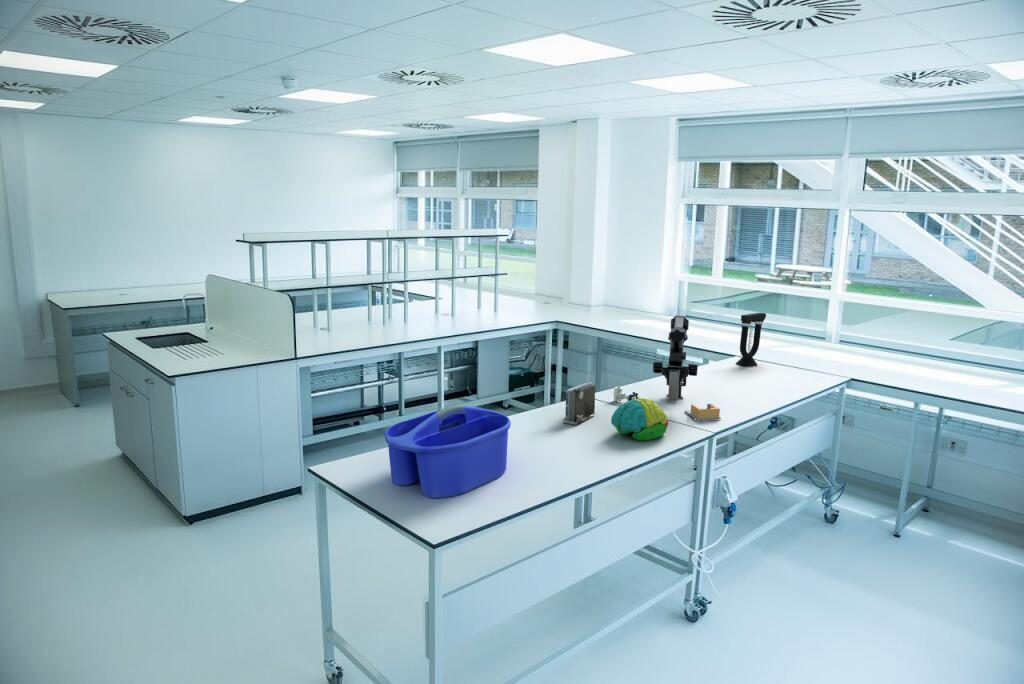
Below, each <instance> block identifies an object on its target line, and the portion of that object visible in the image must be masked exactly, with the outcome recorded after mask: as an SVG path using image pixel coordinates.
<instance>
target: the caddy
mask: <svg viewBox="0 0 1024 684" xmlns="http://www.w3.org/2000/svg"><path fill="white" fill-rule="evenodd" d="M511 424H512V423H511V418H509V417H508V416H507V415H506V414H503V413H501V412H499V411H496V410H491V409H487V408H482V407H478V406H477V407H476V406H470V405H464V404H455V405H454V404H453V405H449V406H446V407H443V408H442V409H440V410H436V411H431V412H429V413H426V414H424V415H419V416H415V417H413V418H410V419H407V420H403V421H400V422H398V423H395V424H393V425H391V426H390V427H388V428H387V430H386V431H385V433H384V439H385V440H384V441H385V442H386V444H387V449H388V455H389V457H388V458H389V467H390V475H391V476H390V477H391V482H392V484H393V483H394V484H393V485H395V484H396V485H395V486H398V485H401V486H400V487H402V486H403V487H405V486H410V485H413V484H414V483H416V482H418V481H419V482H420V487H421V489H420V490H421V493H422V495H423V496H424V497H426V498H429V499H440V498H441V499H442V498H449V497H454V496H459V495H462V494H464V493H468V492H469V491H472V490H474V489H475V488H478V487H480V486H483V485H485V484H487V483H489V482H491V481H494V480H496V479H497V478H499V477H501V476H502V475H503V474H504V473H505V472H506V470H507V462H508V459H507V458H508V440H509V439H508V438H509V430H510V429H511Z"/></svg>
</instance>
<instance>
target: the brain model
mask: <svg viewBox="0 0 1024 684" xmlns="http://www.w3.org/2000/svg"><path fill="white" fill-rule="evenodd" d="M610 422H611V424H612V425H613V427H614V428H615V429H616V431H617V432H619V433H620V434H622V435H624V436H625V435H628V434H629V433H632V436H631V437H632V438H633V439H635V440H637V441H643V442H644V441H649V440H653V439H654V440H655V439H657V438H660V437H663V436H664V434H665V433H666V432H667V429H668V425H669V419H668V416H667V413H666V412H665V410H663V409H662V408H661V407H660V406H659V405H658V403H656V402H655V400H653V399H652V400H651V399H648V398H645V397H643V398H639V399H638V398H637V399H636V398H635V400H630V401H628V400H627V401H625V402H624V403H622V404H621V405H619V406H618V407H617V408H616V409H615V410H614V412H613V414H612V415H611V418H610Z"/></svg>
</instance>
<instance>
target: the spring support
mask: <svg viewBox="0 0 1024 684" xmlns="http://www.w3.org/2000/svg"><path fill="white" fill-rule="evenodd" d="M766 318H767V313H766V312H754V313H747V314H741V316H740V321H741V332H740V333H741V334H740V341H739V352H740V354H741V358H740V359H739V360H737V361H736V363H735V364H736V365H738V366H741V367H746V366H757V365H758V363H757V361H756V360H755V359H754V356H755V355H756V354H757V352H758V351H759V346H760V341H761V333H762V332H761V331H762V326H763V323H764V321H765V319H766ZM753 325H754V326H753ZM748 333H749V334H748ZM757 367H758V366H757Z"/></svg>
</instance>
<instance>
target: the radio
mask: <svg viewBox="0 0 1024 684" xmlns="http://www.w3.org/2000/svg"><path fill="white" fill-rule="evenodd" d="M595 403H596V385H595V384H594V383H593V382H592V381H588V382H586V383H585V382H584V383H582V384H579V385H577V386H574V387H570V388H569V389H566V391H565V417H564V418H563V419H562V423H566V424H571V425H577V426H578V425H579V424H582V423H583V422H585V421H588V420H589V418H590V419H591V417H592V416H591V415H595V414H596V411H595V410H596V404H595ZM594 413H595V414H594ZM592 418H593V417H592Z"/></svg>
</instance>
